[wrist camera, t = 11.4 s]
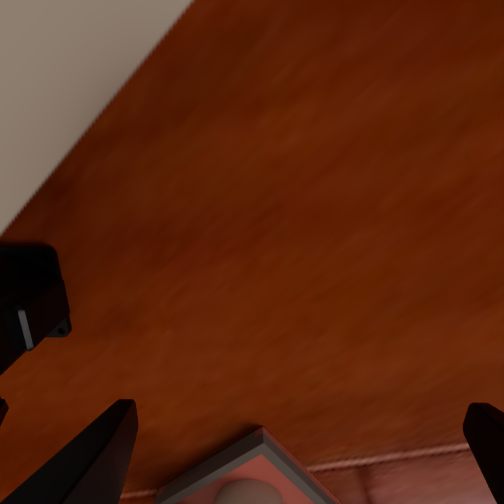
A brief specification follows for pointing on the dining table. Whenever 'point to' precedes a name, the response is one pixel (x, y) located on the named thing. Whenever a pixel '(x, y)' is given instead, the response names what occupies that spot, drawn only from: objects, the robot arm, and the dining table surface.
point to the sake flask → (249, 493)
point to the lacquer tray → (247, 474)
